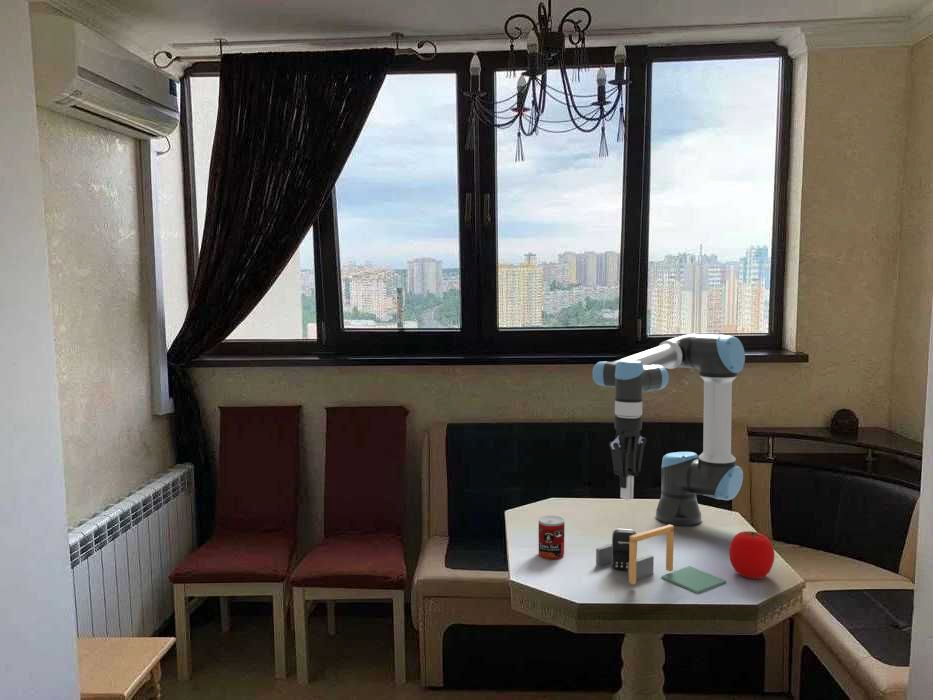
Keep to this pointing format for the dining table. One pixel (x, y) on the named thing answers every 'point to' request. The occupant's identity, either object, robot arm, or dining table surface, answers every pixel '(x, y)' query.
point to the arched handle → (644, 535)
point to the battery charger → (621, 548)
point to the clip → (642, 564)
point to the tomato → (751, 554)
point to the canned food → (551, 537)
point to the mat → (693, 579)
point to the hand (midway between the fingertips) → (626, 498)
